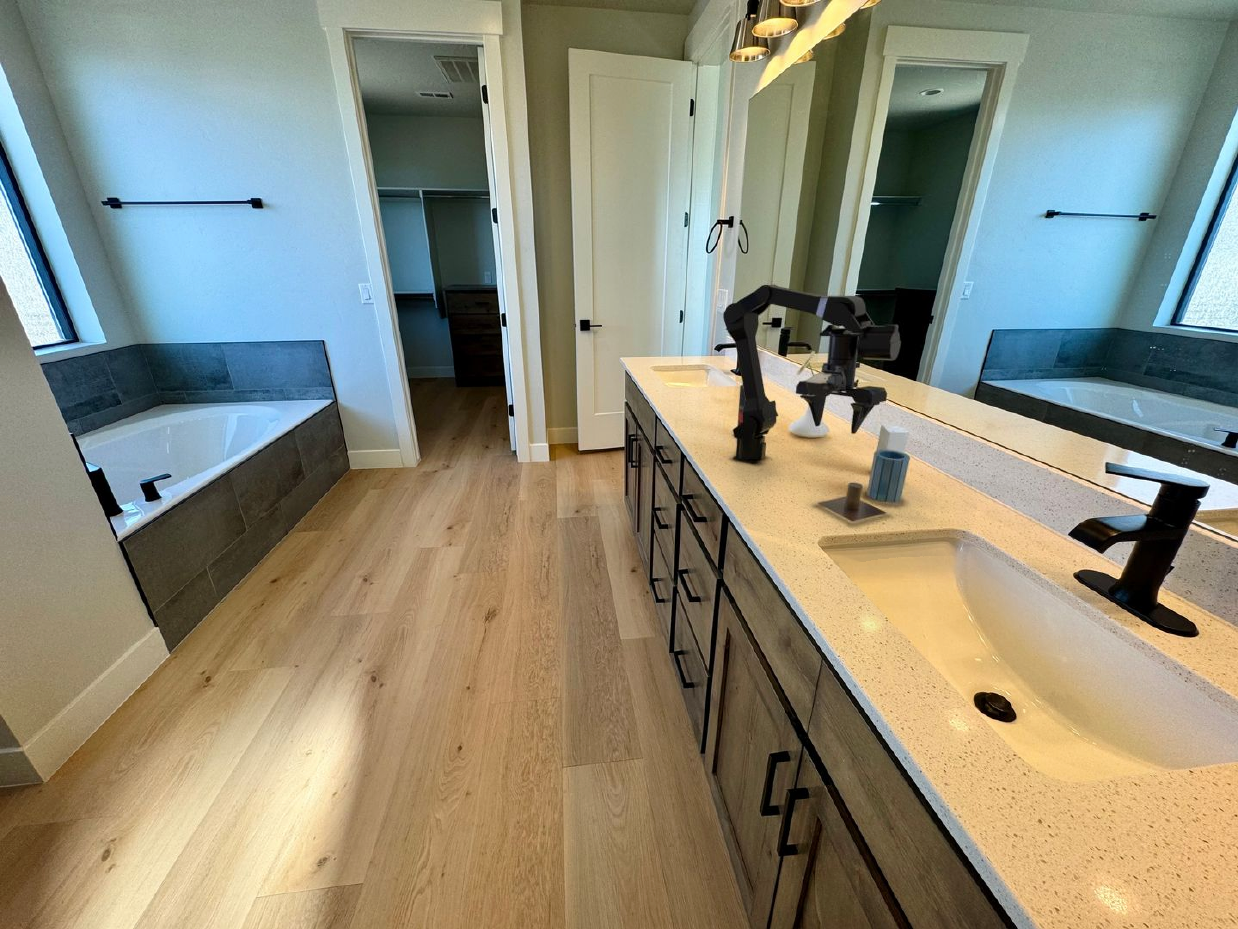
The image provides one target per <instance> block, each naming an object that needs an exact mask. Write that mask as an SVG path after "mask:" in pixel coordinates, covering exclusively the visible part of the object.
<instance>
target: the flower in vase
mask: <svg viewBox="0 0 1238 929" xmlns="http://www.w3.org/2000/svg"><path fill="white" fill-rule="evenodd" d="M815 354H816V351H815V350H812V351H811V353H810V354H809V355H808V356H807V358H806V360H805V361H804V363H802V365H801V367H800V368H799V369H798V371H797V372H796V376H800V375H801V374H802V373H803V372H804V371H805V369H806V368H809V369H810V372H811V375H812V376H814V375H815V373H814V371H813V368H812V365H811V360H812V359H813V357H814V356H815ZM788 430H789V432H790V433H792V434H794V435H796V436H799V437H804V438H820V437H822V438H823V437H825V436H828V434H829V433H830V428H829V426H828V425H827V424H826V423H825V422H824V421H823V419H822V420H821V423H820V426H815V423H814V420H813V416H812V413H811V409H810V407H809V404H808V403H807V408H806V412H805V413H804V414H803V415H802V416H800V417H799V418H797V419H796V420H794V421H793V422H791V423H789V426H788Z"/></svg>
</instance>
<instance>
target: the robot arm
mask: <svg viewBox="0 0 1238 929" xmlns="http://www.w3.org/2000/svg"><path fill="white" fill-rule="evenodd" d="M771 305H774V306H779V307H783V308H785V309H791V310H796V311H798V312H799V311H800V312H804V313H807V314H808V313H809V314H812V315H814V316H816V317H817V318H819V319H820V320H822V321H824V322H826V323H828V324H827V326H826V327H825V328H824V329H823V330H821V331H820V332H819V337H829V339H828V350H827V360H826V362H824V363H822V365H821V369H820V370H821V371H820V372H817V373H816V374H815V373H814V376H813V375H812V376H810V377H809V378H807V379H806V380H800V381H799V382H798V383H797V384H796V386H795V394H796V395H799V397H800V399H803V400H804V401H805V402H806V403H807V405H808V404H809V407H810V409H811V413H812V416H813V420H814V423H815V426H820V423H821V420H822V421H823V415H824V410H825V405H826V400H827V397H828V396H830V395H833V396H834V395H835V396H841V397H847V398H851V399H852V400H853V401H854V402H851V403H850V406H851V408H852V418H851V426H850V431H851V432H850V433H851V434H852V435H855V434H856V433H857V432H858V431H859V429H860V428H861V426H862V424H863V423H864V422H865V420H866V418H867V416H868V415H869V414H870V412H871V411H873V409H874V407H875V406H880V403H884V402H887V399H888V398H887V397H888V392H887V390H886V388H885V387H882V386H871V385H867V386H860V387H859V382H858V381H855V378H856V370H857V369H859V368H861V362H857V361H858V356H861V358H862V359H863V360H874V361H875V360H876V361H877V360H878V361H880V360H881V361H895V360H896V359H897V358H898V356H899V354H900V351H901V350H900V349H901V344H902V341H901V337H900V336H901V335H900V332H899V325H898V324H889V325H888V324H887V325H876V324H875V323H874V321H873V320H872V319H871V317H870V315H869V314H868V313H867V311H866V303H865V301H864V299H863V298H862V297H860V296H858V295H821V294H817V293H812V292H808V291H802V290H798V289H793V288H788V287H783V286H778V285H777V284H774V283H773V284H772V283H771V284H762V285H760V286H759V287H758V288H756V289H755V290H754V291H752V292H751V293H749V294H747V295H745V296H744V297H743V298H740V299H739V300H738V301H737V302H732V303H730V304H728V305H727V306H726V307H725V309H724V311H723V314H722V319H723V322H724V326H725V328H726V331H727V333H728V334H729V336H730V337H731V338H732V340H733V341H734V344H735V349H736V354H737V360H738V365H739V371H740V377H741V381H742V385H743V388H744V394H745V403H744V407H743V411H742V421H743V422H742V423H741V424H739V425H738V424H737V425H738V426H735V427H734V428H733V429H732V433H733V437H734V438H735V439H736V446H735V455H734V456H733V457H732V459H733V460H736V461H741V462H744V463H750V464H754V465H756V464H757V465H758V464H759V463H760V462H761V461H763V460H764V459H766V450H767V442H766V436H765V435H768V434H769V432H770V430H771V429H773V428H774V426H775V425H776V423H777V418H778V417H779V414H778V411H777V403H776V400H771V401H770V399H769V398H768V396H766V391H765V386H764V380H763V375H762V374H763V373H762V369H761V363H760V357H759V352H758V345H757V339H756V338H757V337H756V336H757V333H758V328H759V321H760V320H759V316H761V315H762V314H763V313H765V312H766V311H767V310H768V309H769V307H770V306H771ZM858 332H859V333H858Z"/></svg>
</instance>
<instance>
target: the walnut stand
mask: <svg viewBox="0 0 1238 929" xmlns="http://www.w3.org/2000/svg"><path fill="white" fill-rule="evenodd" d="M862 492H863V484H861V483H859V482H849V483H848V484H847V489H846V495H845V496H842V497H837V498H833V499H829V500H825V501H820V502H817V504H818V505H820V506H822V507H824V508H826V509H828V510H830V511H832V512H834V514H837V515H839V516H841V517H843V518H845V519H847V520H848V521H850V522H852V523H853V522H857V521H861V520H865V519H869V518H873V517H877V516H880V515H885V514H887V512H886V511H884V510H882V509H880V508H878V507H876V506H873V505H872V504H869V503H867V502H866V501H863V500H861V498H862Z"/></svg>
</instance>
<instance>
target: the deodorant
mask: <svg viewBox="0 0 1238 929" xmlns="http://www.w3.org/2000/svg"><path fill="white" fill-rule="evenodd" d="M738 402H739V403H738V414H737V424H736V425H737V426H738V425H739V424H741V423H742V422H743V421H742V411H743V407H744V403H745V394H744V388H743V384H741V385H740V386H739V399H738ZM737 426H736V427H737Z"/></svg>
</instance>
